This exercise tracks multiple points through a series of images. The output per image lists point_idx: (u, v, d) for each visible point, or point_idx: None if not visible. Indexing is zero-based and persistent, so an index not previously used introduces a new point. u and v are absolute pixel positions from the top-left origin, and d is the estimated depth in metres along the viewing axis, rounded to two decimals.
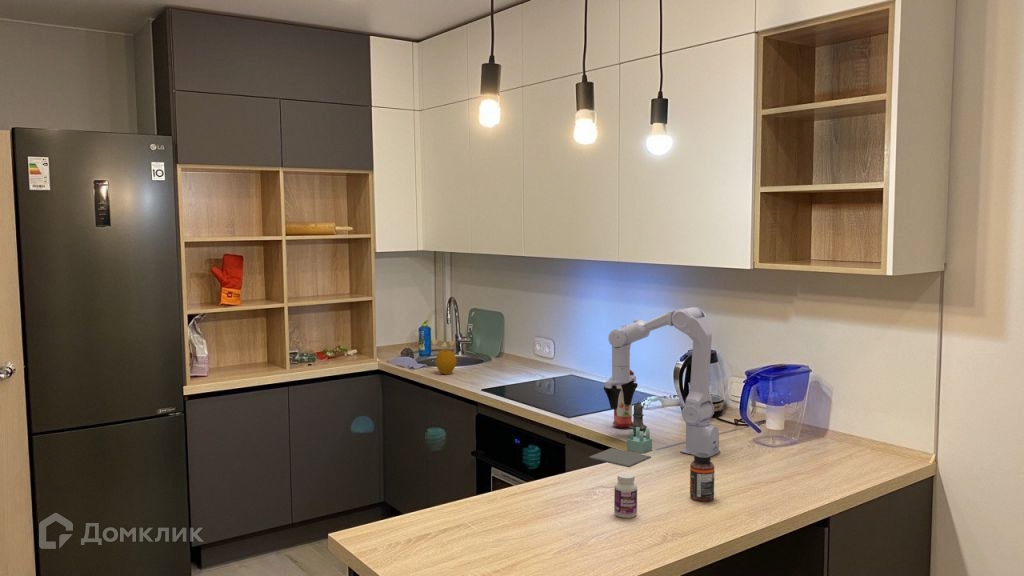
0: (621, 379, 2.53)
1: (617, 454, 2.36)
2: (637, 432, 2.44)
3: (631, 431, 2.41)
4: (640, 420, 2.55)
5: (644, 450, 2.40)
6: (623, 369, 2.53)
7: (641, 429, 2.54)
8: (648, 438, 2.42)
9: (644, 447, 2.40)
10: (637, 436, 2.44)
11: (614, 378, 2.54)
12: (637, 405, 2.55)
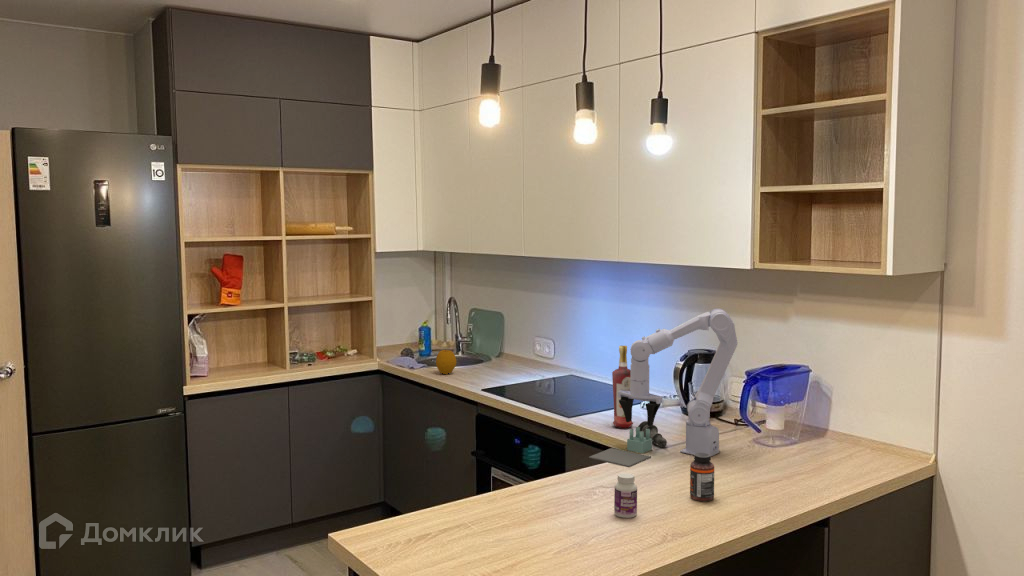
0: (630, 392, 2.41)
1: (617, 454, 2.36)
2: (637, 432, 2.44)
3: (631, 431, 2.41)
4: None
5: (644, 450, 2.40)
6: (631, 382, 2.40)
7: None
8: (648, 438, 2.42)
9: (644, 447, 2.40)
10: (637, 436, 2.44)
11: None
12: (661, 445, 2.44)
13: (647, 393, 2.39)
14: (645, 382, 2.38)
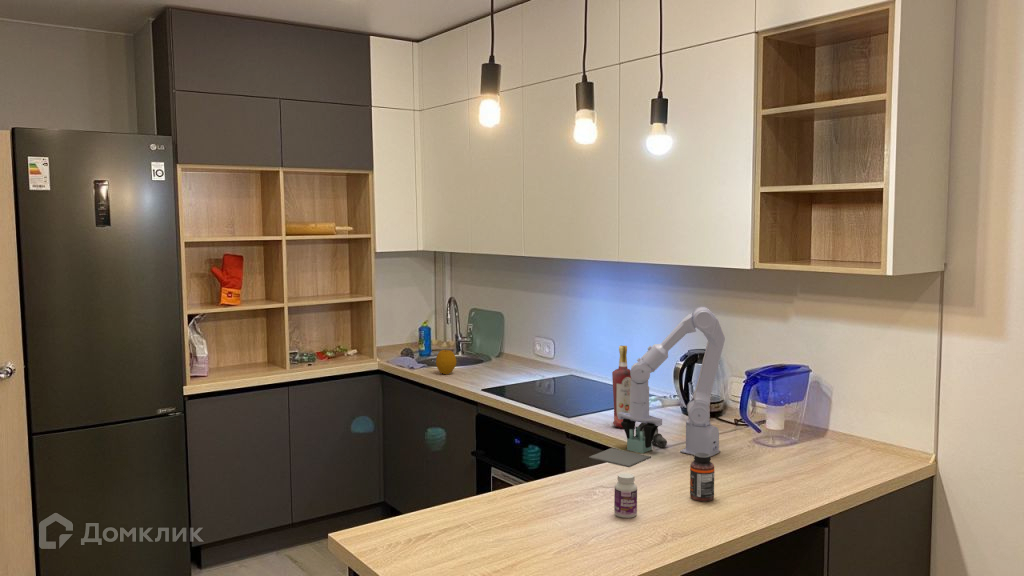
0: (630, 414, 2.42)
1: (617, 454, 2.36)
2: (637, 432, 2.44)
3: (631, 431, 2.41)
4: None
5: (644, 449, 2.40)
6: (631, 404, 2.41)
7: None
8: None
9: (644, 446, 2.40)
10: (637, 436, 2.44)
11: None
12: (662, 445, 2.44)
13: (647, 415, 2.40)
14: (645, 404, 2.39)
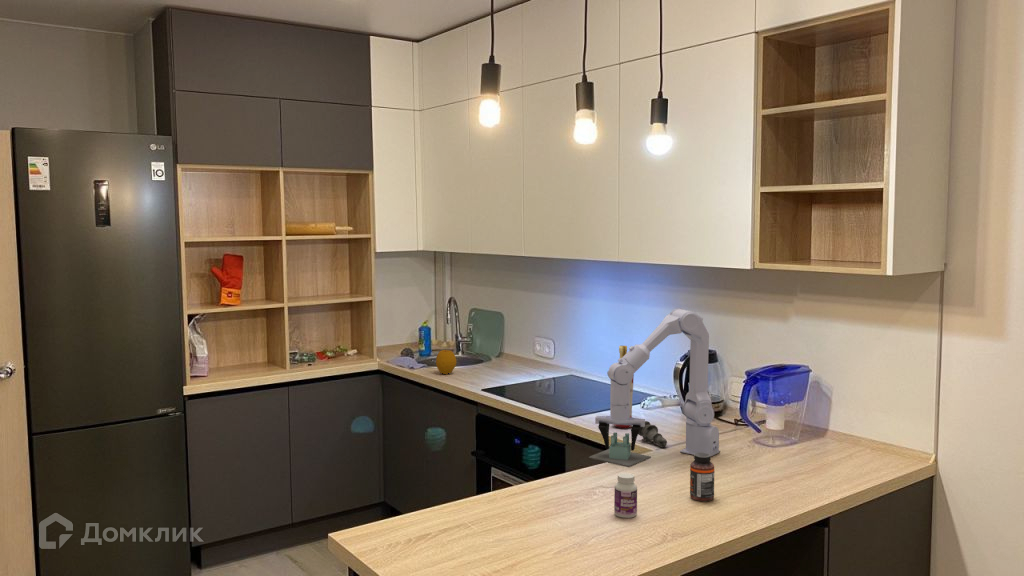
0: (611, 418, 2.32)
1: None
2: (615, 438, 2.36)
3: (613, 437, 2.32)
4: None
5: (628, 455, 2.32)
6: (613, 407, 2.31)
7: None
8: (628, 443, 2.35)
9: (628, 452, 2.32)
10: (615, 442, 2.36)
11: None
12: (662, 445, 2.44)
13: (629, 417, 2.32)
14: (628, 406, 2.31)
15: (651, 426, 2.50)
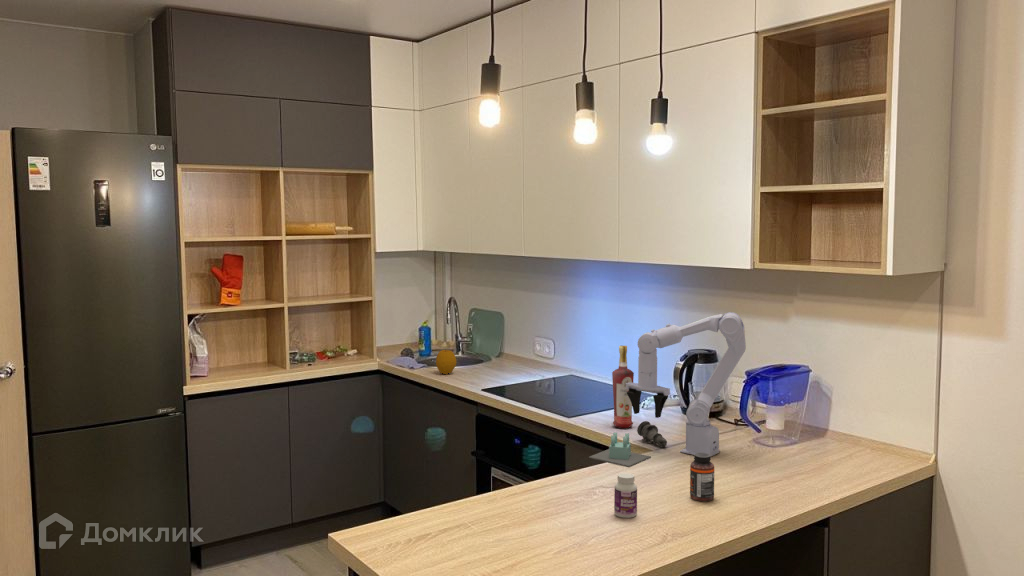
0: (638, 384, 2.43)
1: None
2: (615, 438, 2.36)
3: (613, 437, 2.32)
4: None
5: (628, 455, 2.32)
6: (639, 374, 2.42)
7: None
8: (628, 443, 2.35)
9: (628, 452, 2.32)
10: (615, 442, 2.36)
11: None
12: (661, 445, 2.44)
13: (655, 385, 2.41)
14: (653, 374, 2.40)
15: (651, 426, 2.50)
